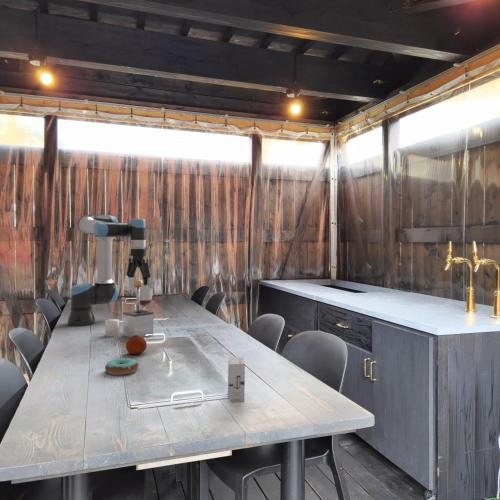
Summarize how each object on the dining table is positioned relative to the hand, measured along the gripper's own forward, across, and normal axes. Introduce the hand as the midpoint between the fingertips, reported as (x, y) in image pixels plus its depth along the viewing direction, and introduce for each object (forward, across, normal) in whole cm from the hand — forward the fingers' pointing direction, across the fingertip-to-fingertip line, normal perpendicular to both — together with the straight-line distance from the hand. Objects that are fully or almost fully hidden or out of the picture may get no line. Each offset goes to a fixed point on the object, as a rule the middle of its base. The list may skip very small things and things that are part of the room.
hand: (138, 290), depth 221 cm
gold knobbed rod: (+13, 0, 0) cm, 13 cm away
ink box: (+23, +99, -29) cm, 106 cm away
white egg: (+23, -10, -9) cm, 27 cm away
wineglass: (+23, -14, +13) cm, 30 cm away
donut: (+24, +49, -39) cm, 67 cm away
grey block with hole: (+23, 0, 0) cm, 23 cm away
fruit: (+24, +31, -21) cm, 44 cm away
